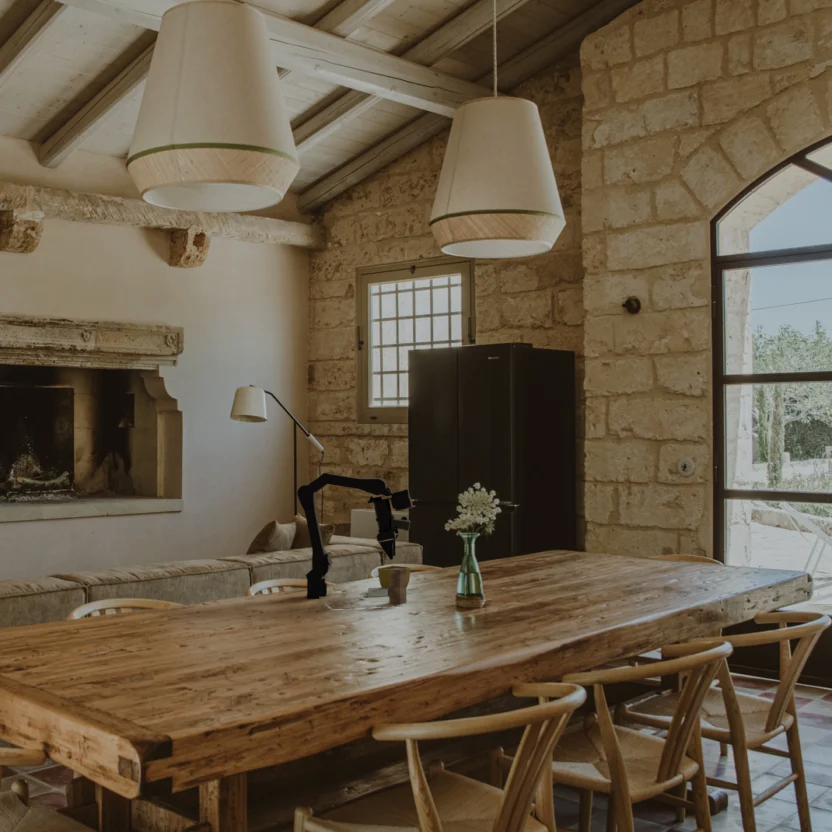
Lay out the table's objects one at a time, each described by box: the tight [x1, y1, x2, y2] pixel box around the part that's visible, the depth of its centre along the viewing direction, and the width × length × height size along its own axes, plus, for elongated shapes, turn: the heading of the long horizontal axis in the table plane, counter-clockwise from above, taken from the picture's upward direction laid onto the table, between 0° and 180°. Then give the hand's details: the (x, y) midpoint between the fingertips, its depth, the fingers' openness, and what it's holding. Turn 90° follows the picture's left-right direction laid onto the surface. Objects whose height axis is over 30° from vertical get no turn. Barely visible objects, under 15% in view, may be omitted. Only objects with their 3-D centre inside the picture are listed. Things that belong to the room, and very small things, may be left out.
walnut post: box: [388, 568, 407, 606], centre depth 335 cm, size 4×4×12 cm
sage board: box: [367, 593, 412, 603], centre depth 346 cm, size 14×16×1 cm
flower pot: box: [377, 565, 412, 589], centre depth 360 cm, size 9×9×9 cm
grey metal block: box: [367, 587, 388, 597], centre depth 350 cm, size 6×4×2 cm, turn 106°
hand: (392, 557), depth 349 cm, fingers open, 9 cm apart
